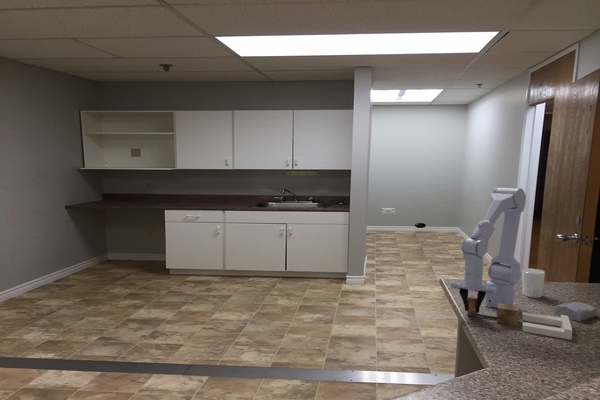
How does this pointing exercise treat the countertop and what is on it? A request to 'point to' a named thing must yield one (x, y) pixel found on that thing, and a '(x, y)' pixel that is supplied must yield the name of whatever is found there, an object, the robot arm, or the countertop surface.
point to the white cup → (532, 282)
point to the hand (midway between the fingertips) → (472, 311)
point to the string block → (504, 315)
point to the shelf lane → (547, 330)
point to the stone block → (576, 311)
